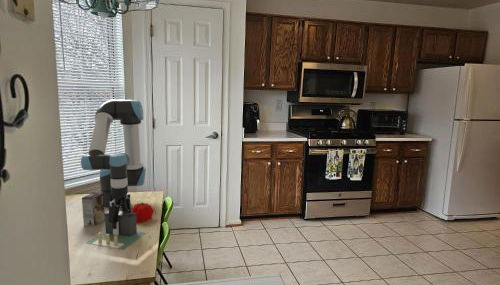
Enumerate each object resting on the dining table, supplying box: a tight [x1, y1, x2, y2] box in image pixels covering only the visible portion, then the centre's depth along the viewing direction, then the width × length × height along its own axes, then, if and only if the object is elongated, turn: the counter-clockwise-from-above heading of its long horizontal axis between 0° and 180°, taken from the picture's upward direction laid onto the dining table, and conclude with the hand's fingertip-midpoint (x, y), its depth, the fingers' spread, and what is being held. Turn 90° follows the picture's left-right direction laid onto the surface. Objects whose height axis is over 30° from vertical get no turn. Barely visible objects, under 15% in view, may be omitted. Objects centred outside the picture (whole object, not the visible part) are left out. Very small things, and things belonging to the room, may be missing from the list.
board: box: [86, 230, 147, 251], centre depth 156 cm, size 18×20×6 cm
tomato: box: [131, 201, 154, 223], centre depth 179 cm, size 11×13×10 cm
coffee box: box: [81, 192, 106, 227], centre depth 172 cm, size 9×6×16 cm
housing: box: [104, 210, 138, 237], centre depth 161 cm, size 5×14×10 cm, turn 75°
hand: (121, 231), depth 162 cm, fingers open, 7 cm apart
